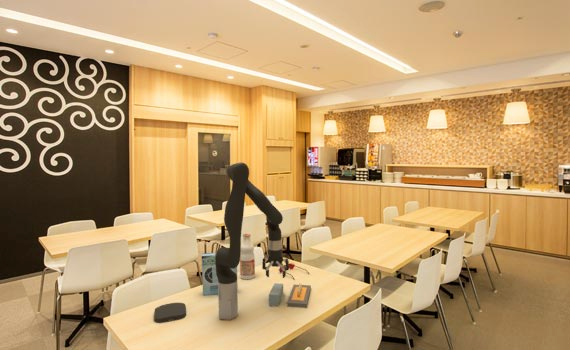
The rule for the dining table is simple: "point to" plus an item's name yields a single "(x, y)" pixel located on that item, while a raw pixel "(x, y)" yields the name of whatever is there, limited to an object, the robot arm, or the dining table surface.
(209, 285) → the blue flat upright box
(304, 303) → the board
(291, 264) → the glasses
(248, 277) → the fruit juice
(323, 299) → the dining table surface
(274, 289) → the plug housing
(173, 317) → the media streaming box
